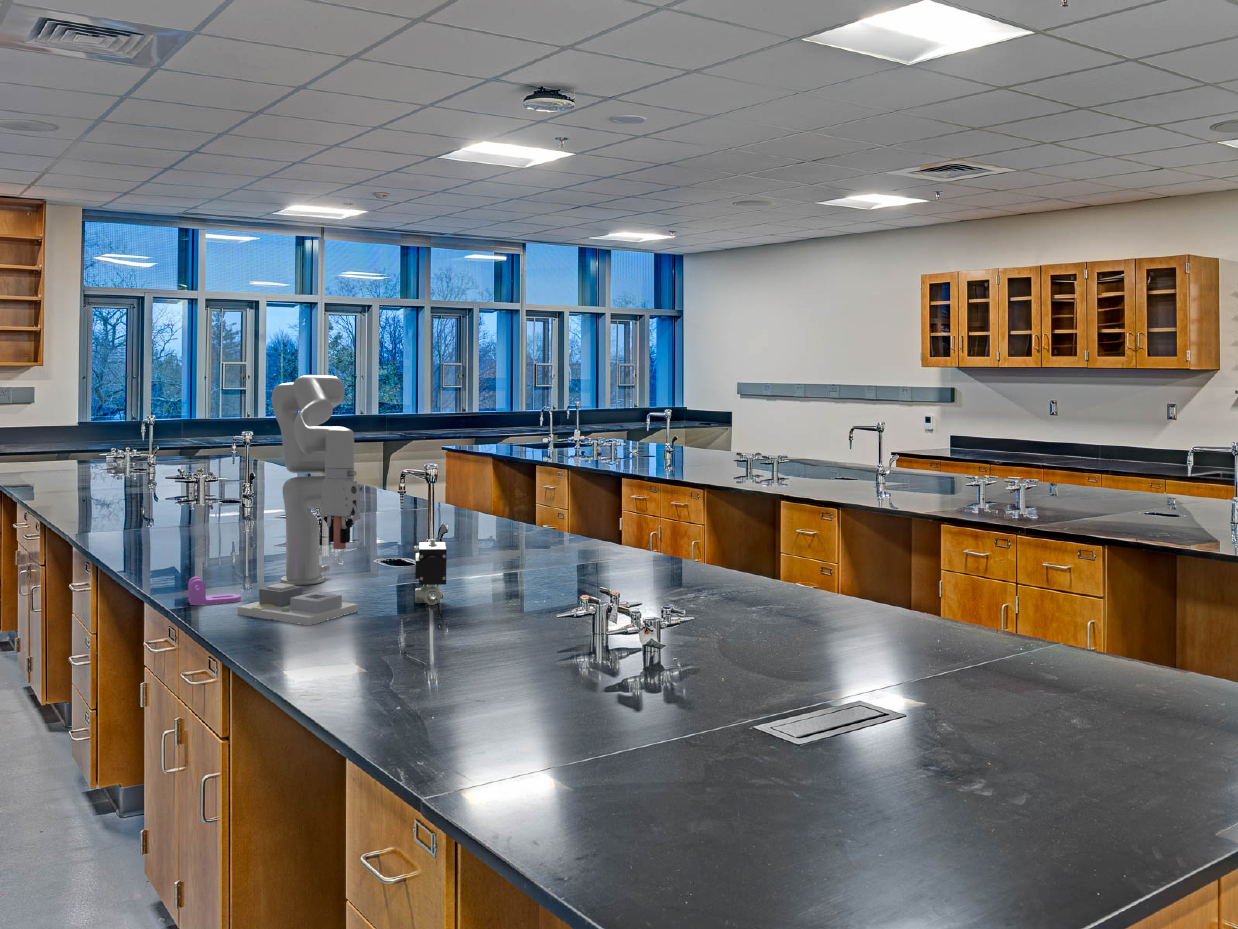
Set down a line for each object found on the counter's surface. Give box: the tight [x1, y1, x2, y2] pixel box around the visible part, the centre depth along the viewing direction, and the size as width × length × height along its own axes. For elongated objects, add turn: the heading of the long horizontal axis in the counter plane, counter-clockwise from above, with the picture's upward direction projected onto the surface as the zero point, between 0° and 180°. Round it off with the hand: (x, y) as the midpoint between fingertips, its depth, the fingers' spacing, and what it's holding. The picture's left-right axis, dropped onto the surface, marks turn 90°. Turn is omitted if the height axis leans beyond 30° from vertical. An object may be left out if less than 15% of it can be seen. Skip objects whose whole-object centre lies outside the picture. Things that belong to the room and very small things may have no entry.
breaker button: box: [266, 582, 296, 591], centre depth 266 cm, size 5×5×4 cm
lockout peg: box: [332, 516, 347, 550], centre depth 274 cm, size 3×3×9 cm
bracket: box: [187, 576, 242, 606], centre depth 275 cm, size 13×6×7 cm, turn 119°
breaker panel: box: [237, 585, 359, 626], centre depth 264 cm, size 18×24×6 cm
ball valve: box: [413, 538, 447, 606], centre depth 279 cm, size 18×8×18 cm, turn 11°
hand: (339, 541), depth 274 cm, fingers closed on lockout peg, 3 cm apart
